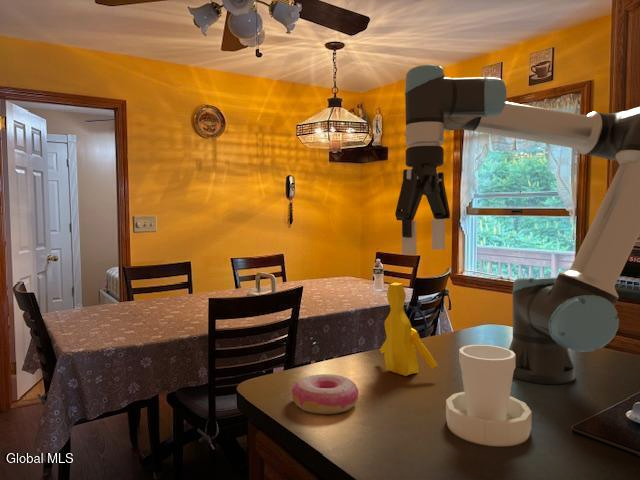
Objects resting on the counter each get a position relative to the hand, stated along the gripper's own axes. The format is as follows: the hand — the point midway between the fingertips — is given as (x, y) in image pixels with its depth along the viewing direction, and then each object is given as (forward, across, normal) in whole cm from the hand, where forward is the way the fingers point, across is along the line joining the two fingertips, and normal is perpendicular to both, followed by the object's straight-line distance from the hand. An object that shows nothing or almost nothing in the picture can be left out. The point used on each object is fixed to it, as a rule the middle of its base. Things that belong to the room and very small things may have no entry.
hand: (424, 252), depth 97 cm
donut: (+31, +14, -15) cm, 37 cm away
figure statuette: (+31, -12, -12) cm, 35 cm away
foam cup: (+30, +6, +14) cm, 34 cm away
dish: (+31, +5, +15) cm, 34 cm away
